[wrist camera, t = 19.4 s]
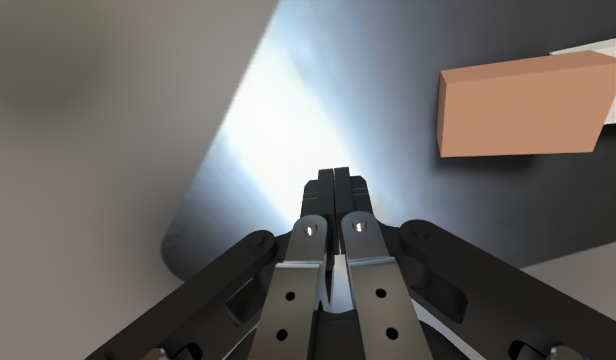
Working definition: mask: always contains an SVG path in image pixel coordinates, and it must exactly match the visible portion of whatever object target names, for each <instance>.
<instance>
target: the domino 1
mask: <svg viewBox="0 0 616 360" xmlns="http://www.w3.org/2000/svg"><path fill="white" fill-rule="evenodd" d="M615 96H616V57H612V56H609V55H605V54H602V53H598V52H595V51H591V50H586V51H579V52H572V53H564V54H557V55H550V56H543V57H536V58H529V59H521V60H514V61H507V62H500V63H493V64H486V65H478V66H471V67H464V68H457V69H450V70H443V71H440V83H439V100H438V116H437V133H436V137H437V141H438V145H439V150H440V154H441V157H458V156H487V155H516V154H544V153H573V152H592V151H593V149H594V147H595V144H596V142H597V139H598V137H599V134H600V132H601V130H602V127H603V125H604V122H605V120H606V117H607V115H608V113H609V110H610V108H611V105H612V103H613V101H614V98H615Z"/></svg>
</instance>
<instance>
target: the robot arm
mask: <svg viewBox="0 0 616 360" xmlns="http://www.w3.org/2000/svg"><path fill="white" fill-rule="evenodd" d="M334 177H335V179H334ZM339 241H340V249H341V255H342V254H345V259H346V268H347V275H348V281H349V287H350V293H351V299H352V305H353V310H350V311H347V312H343V313H339V314H335V313H332V300H333V285H334V264H335V257H334V255H340V252H339ZM250 278H252V280H251V281H250V282H249V283H248V284H247V285H245V286H244V287H243V288H242V289H241V290H240V291H239V292H238V293H236V294H235V295H234V296H233V297H232V298H231V299H230V300H229V301H228V299H229V298H230V296H231V295H232V294H234V293H235V292H236V291H237V290H238V289H239V288H240V287H241V286H243V285H244V284H245V283H246V282H247V281H248V280H249V279H250ZM410 297H411V298H412V299H414V300H415V301H416V302H417V303H418V304H420V305H421V306H422V307H424V308H425V309H426V310H427V311H428V312H429V313H431V314H432V315H433V316H434V317H436V318H437V319H438V320H439V321H440V322H442V323H443V324H444V325H445V326H446V327H448V328H449V329H450V330H451V331H453V332H454V333H455V334H456V335H457V336H459V337H460V338H461V339H462V340H463V341H465V342H466V343H467V344H468V345H470V346H471V347H472V348H473V349H474V350H476V351H477V352H478V353H479V354H480V355H482V356H483V357H484V358H485V359H487V360H616V321H615V320H613V319H611V318H609V317H607V316H605V315H604V314H602V313H599V312H598V311H596V310H594V309H592V308H590V307H588V306H587V305H585V304H583V303H581V302H579V301H577V300H575V299H573V298H572V297H570V296H568V295H566V294H564V293H562V292H560V291H558V290H557V289H555V288H553V287H551V286H549V285H547V284H545V283H543V282H542V281H540V280H538V279H536V278H534V277H532V276H530V275H528V274H527V273H525V272H523V271H521V270H519V269H517V268H515V267H513V266H512V265H510V264H508V263H506V262H504V261H502V260H500V259H498V258H497V257H495V256H493V255H491V254H489V253H487V252H485V251H483V250H482V249H480V248H478V247H476V246H474V245H472V244H470V243H468V242H467V241H465V240H463V239H461V238H459V237H457V236H455V235H453V234H452V233H450V232H448V231H446V230H444V229H442V228H440V227H438V226H436V225H435V224H433V223H431V222H428V221H425V220H409V221H407V222H405V223H403V224H402V225H401V227H400V228H398V227H392V226H387V225H385V224H382V223H381V222H379V221H378V220H377V219H376V218H375V216H374V214H373V210H372V206H371V201H370V197H369V192H368V189H367V184H366V180H365V179H363V178H362V177H361V176H350V174H349V167H341V168H334V171H333V168H332V169H322V170H319V173H318V180H309V182H308V183H307V184H306V185H305V187H304V194H303V201H302V208H301V215H300V219H299V220H297V221H296V222H295V224H294V226H293V230H292V231H290V232H288V233H286V234H283V235H280V236H276V237H274V235H273V234H272V233H271V232H269V231H267V230H258V231H254V232H252V233H250V234H248V235H247V236H245V237H244V238H243V239H242V240H240V241H239V242H238V243H236V244H235V245H234V246H232V247H231V248H230V249H228V250H227V251H226V252H224V253H223V254H222V255H220V256H219V257H218V258H216V259H215V260H214V261H213V262H211V263H210V264H209V265H207V266H206V267H205V268H203V269H202V270H201V271H199V272H198V273H197V274H195V275H194V276H193V277H191V278H190V279H189V280H188V281H186V282H185V283H184V284H182V285H181V286H180V287H178V288H177V289H176V290H174V291H173V292H172V293H170V294H169V295H168V296H166V297H165V298H164V299H163V300H161V301H160V302H159V303H157V304H156V305H155V306H153V307H152V308H151V309H149V310H148V311H147V312H145V313H144V314H143V315H141V316H140V317H139V318H137V319H136V320H135V321H134V322H132V323H131V324H130V325H128V326H127V327H126V328H124V329H123V330H122V331H120V332H119V333H118V334H116V335H115V336H114V337H113V338H111V339H110V340H108V341H107V342H106V343H105V344H103V345H102V346H101V347H99V348H98V349H97V350H96V351H94V352H93V353H92V354H90V355H89V356H88V357H87V358H86V359H85V360H222V358H223V357H225V356H226V354H227V353H228V352H229V351H230V350H231V349H232V348H233V347H234V346H235V345H236V344H237V343H238V342H239V341H240V340H241V339H242V338H243V337H244V336H245V335H246V334H247V333H248V332H249V331H250V329H252V328H253V326H255V325H256V323H257V322H258V321H259V323H258V327H257V328H255V329H254V330H253V331H251V332H250V333H249V334H248V335H247V336H246V337H245V338H244V339H243V340H242V342H240V344H239V345H238V346H237V347H236V348H235V349H234V350H233V351H232V352H231V353H230V354H229V356H228V357H227V358H226V359H225V360H470V359H469V358H468V357H467V356H466V355H465V354H463V353H462V352H461V351H460V350H459V349H458V348H457V347H456V346H455V345H454V344H452V343H451V342H450V341H449V340H448V339H447V338H446V337H445V336H444V335H442V334H441V333H440V332H438V331H437V330H436V329H434V328H433V327H431V326H430V325H428V324H426V323H425V322H423V321H420V320H418V317H417V314H416V312H415V309H414V306H413V304H412V301H411V298H410ZM227 301H228V302H227Z"/></svg>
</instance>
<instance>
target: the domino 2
mask: <svg viewBox="0 0 616 360" xmlns="http://www.w3.org/2000/svg"><path fill="white" fill-rule="evenodd" d="M586 50H591V51H595V52H598V53H602V54H605V55H609V56H612V57H616V38H615V39H611V40H606V41H601V42H597V43H592V44H588V45H583V46H578V47H574V48H569V49H564V50H560V51H555V52H551V53H549V56H550V55H557V54H564V53H572V52H579V51H586ZM612 123H616V96H615V98H614V101H613V103H612V105H611V108H610V110H609V113H608V115H607V117H606V120H605V122H604V124H612Z"/></svg>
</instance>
